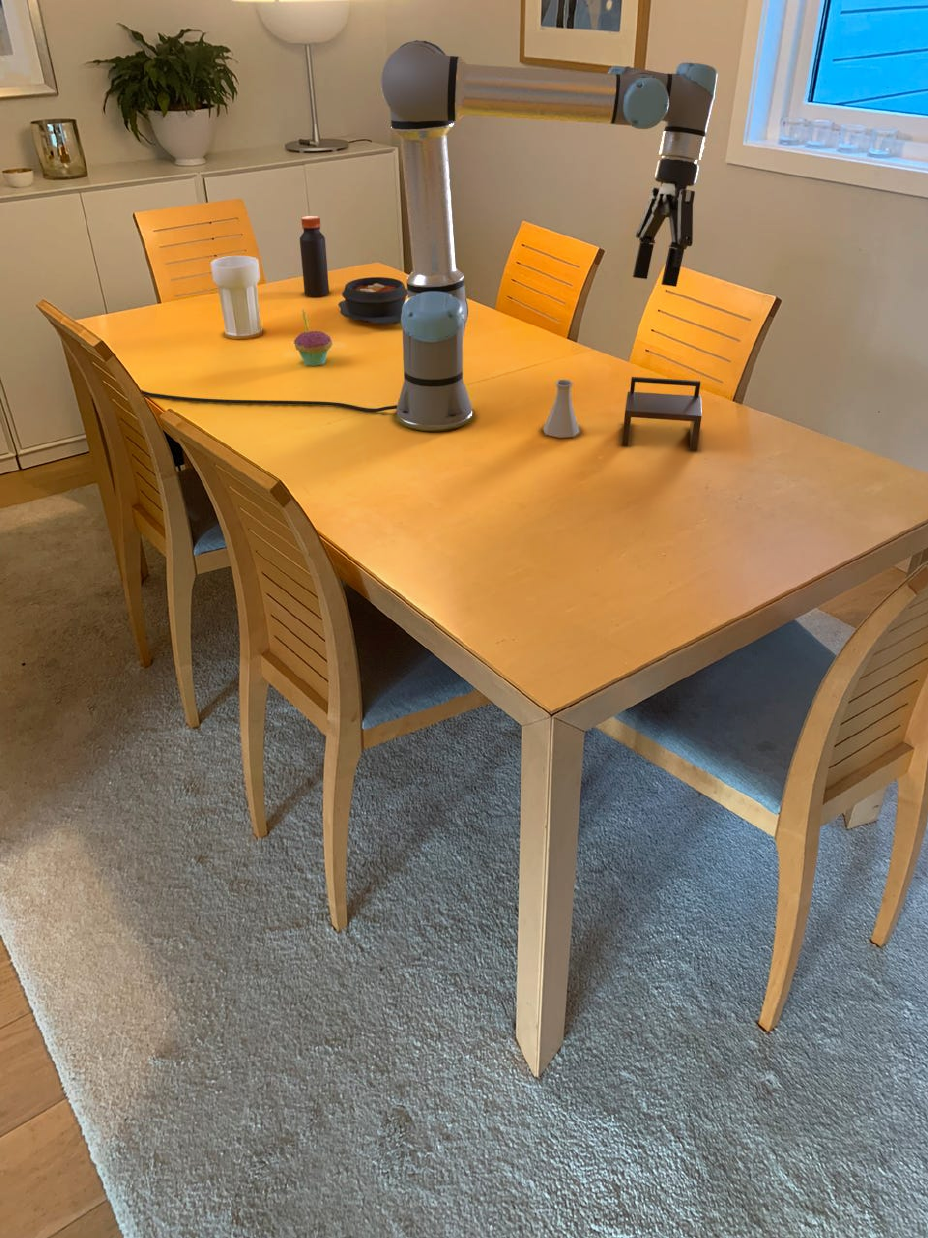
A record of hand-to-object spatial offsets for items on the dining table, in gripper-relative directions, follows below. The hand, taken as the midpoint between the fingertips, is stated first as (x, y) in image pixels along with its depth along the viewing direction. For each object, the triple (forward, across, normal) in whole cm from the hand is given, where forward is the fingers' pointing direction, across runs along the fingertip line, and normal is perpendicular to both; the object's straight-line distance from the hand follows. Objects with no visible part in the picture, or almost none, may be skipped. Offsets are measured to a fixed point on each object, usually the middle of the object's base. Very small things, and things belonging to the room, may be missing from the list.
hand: (653, 281), depth 185 cm
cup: (+29, +72, +73) cm, 107 cm away
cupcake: (+30, +47, +58) cm, 80 cm away
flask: (+30, -4, +15) cm, 33 cm away
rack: (+27, -11, -3) cm, 30 cm away
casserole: (+22, +77, +40) cm, 90 cm away
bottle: (+20, +103, +53) cm, 117 cm away
